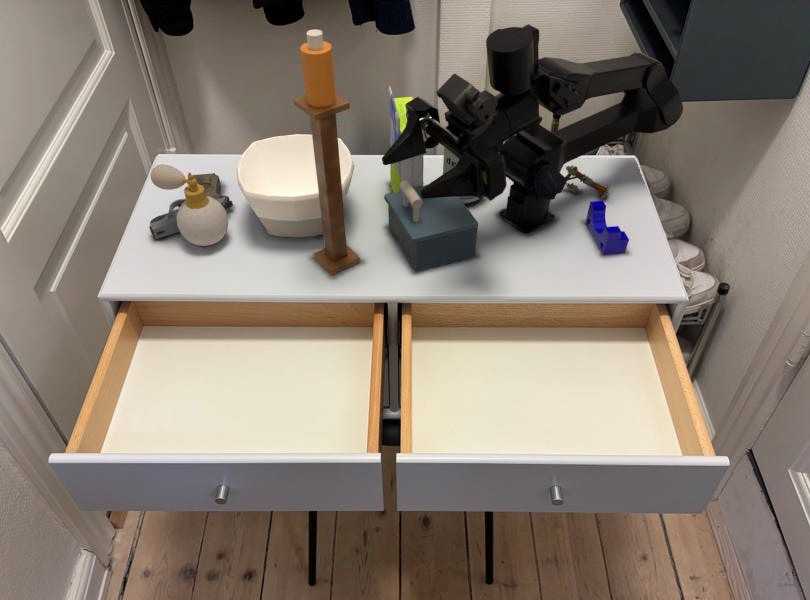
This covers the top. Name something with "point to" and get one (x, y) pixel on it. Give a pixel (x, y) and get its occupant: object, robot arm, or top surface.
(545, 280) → the top surface
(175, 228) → the handgun
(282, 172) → the bowl
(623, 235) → the cable holder
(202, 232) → the perfume bottle
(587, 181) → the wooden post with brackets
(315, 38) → the detergent bottle
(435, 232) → the lid
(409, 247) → the compartment
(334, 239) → the stand
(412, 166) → the box
